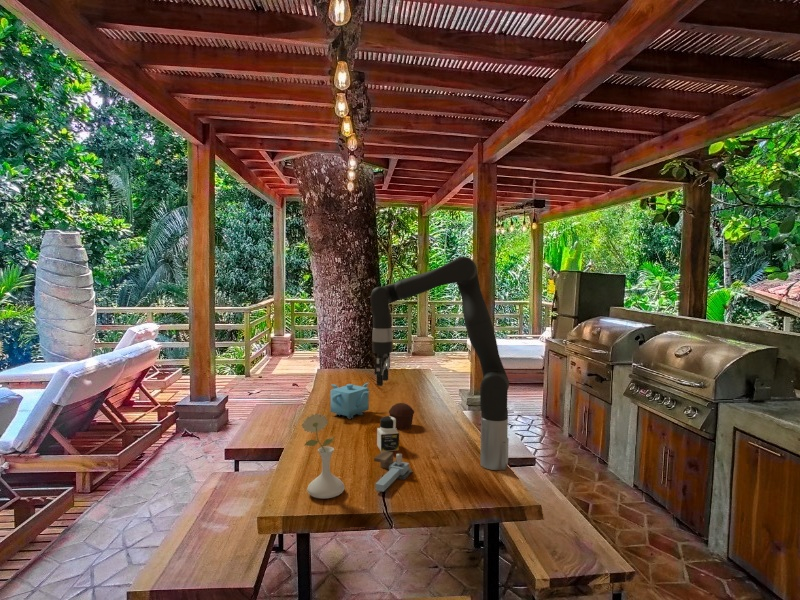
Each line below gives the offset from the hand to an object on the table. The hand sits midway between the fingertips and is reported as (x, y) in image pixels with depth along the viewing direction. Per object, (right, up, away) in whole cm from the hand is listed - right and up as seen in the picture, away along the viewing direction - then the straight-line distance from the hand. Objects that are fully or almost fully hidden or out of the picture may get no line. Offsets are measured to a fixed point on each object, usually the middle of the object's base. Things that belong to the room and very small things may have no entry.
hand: (382, 382), depth 174 cm
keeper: (+1, -28, -14) cm, 31 cm away
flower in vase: (-17, -29, -31) cm, 46 cm away
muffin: (+7, -25, +32) cm, 41 cm away
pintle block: (+6, -28, -17) cm, 33 cm away
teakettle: (-17, -24, +50) cm, 58 cm away
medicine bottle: (+2, -27, +6) cm, 27 cm away
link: (+4, -27, -23) cm, 36 cm away
